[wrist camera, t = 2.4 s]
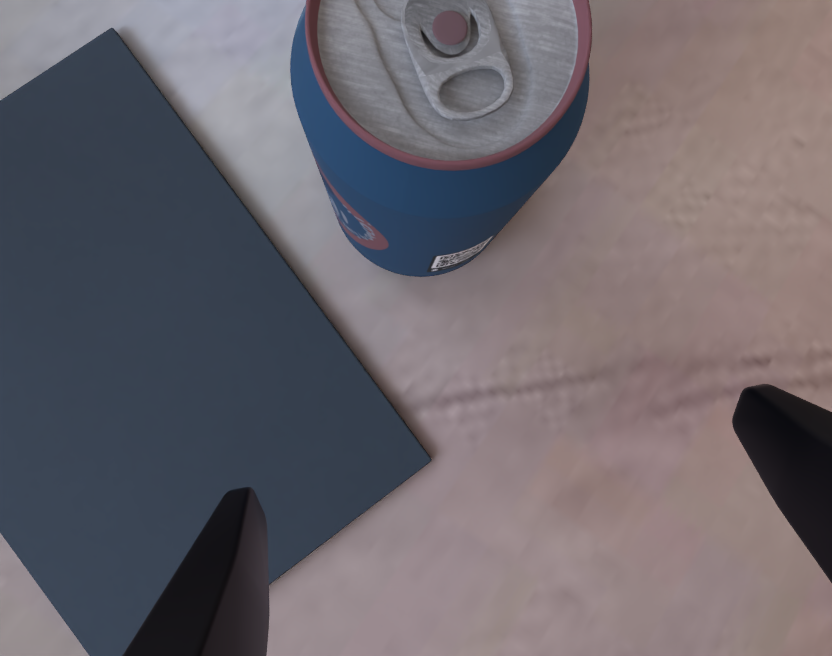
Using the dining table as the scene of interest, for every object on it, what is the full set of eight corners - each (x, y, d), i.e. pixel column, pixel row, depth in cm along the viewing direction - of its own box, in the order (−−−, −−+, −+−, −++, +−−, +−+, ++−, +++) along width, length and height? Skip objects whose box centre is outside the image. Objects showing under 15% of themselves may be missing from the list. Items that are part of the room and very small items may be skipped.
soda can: (311, 149, 22) (222, -87, 10) (466, 97, 23) (551, -188, 11) (368, 304, 22) (344, 245, 10) (523, 248, 23) (674, 129, 11)
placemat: (431, 458, 22) (432, 460, 22) (125, 692, 21) (119, 698, 20) (116, 32, 22) (111, 26, 22) (-202, 242, 21) (-213, 239, 21)
